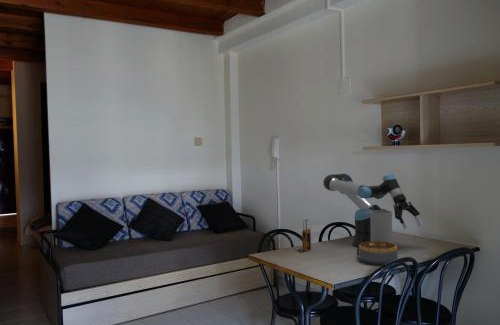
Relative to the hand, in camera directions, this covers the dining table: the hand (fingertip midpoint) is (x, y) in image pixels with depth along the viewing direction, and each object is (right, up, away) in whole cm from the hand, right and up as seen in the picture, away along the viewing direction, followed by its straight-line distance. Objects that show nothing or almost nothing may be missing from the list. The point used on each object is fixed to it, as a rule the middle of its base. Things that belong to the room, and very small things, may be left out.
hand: (413, 226), depth 268 cm
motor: (-29, -16, -19) cm, 38 cm away
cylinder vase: (-20, -16, -2) cm, 26 cm away
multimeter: (-67, -16, +10) cm, 70 cm away
